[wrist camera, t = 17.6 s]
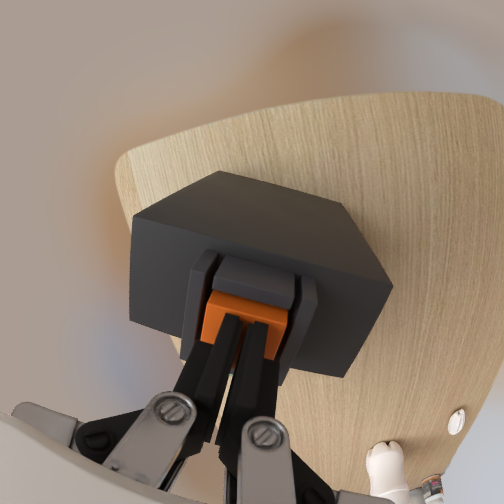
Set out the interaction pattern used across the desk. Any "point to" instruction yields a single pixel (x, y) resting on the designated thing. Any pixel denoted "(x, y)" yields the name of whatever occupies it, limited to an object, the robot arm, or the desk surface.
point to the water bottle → (387, 472)
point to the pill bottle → (432, 490)
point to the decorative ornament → (416, 496)
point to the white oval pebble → (456, 422)
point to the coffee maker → (258, 267)
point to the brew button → (244, 320)
